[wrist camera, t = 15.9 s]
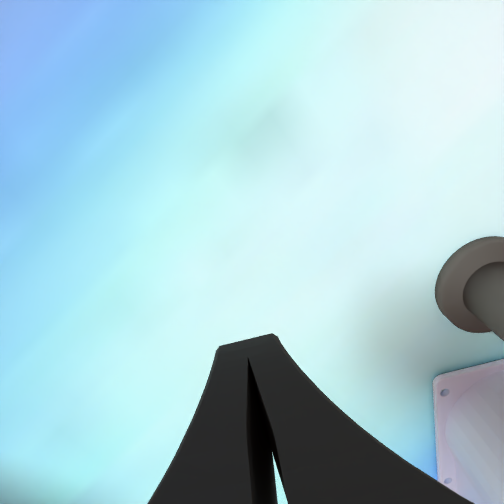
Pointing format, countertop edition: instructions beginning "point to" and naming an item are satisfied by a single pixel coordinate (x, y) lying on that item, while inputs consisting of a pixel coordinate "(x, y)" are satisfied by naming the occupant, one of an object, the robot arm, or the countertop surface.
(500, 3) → the countertop surface
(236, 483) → the robot arm
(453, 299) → the post
